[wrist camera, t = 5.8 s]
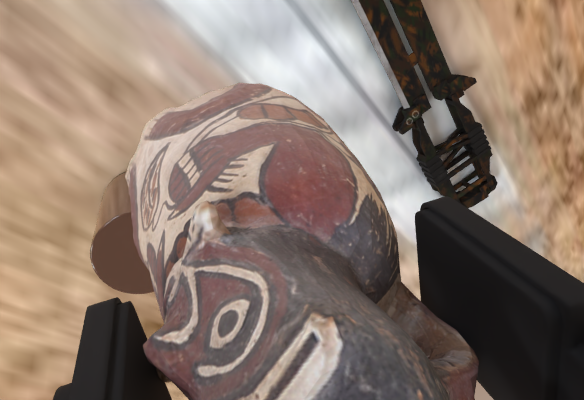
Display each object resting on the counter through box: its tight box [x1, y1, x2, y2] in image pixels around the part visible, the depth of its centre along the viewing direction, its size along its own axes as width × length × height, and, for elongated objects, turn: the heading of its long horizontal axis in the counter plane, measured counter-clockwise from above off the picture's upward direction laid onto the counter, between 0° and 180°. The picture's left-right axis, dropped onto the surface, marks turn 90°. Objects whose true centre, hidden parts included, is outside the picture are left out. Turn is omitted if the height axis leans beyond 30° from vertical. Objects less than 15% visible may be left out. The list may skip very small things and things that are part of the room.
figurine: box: [125, 83, 479, 400], centre depth 11 cm, size 7×7×12 cm
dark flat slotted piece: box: [351, 0, 497, 208], centre depth 32 cm, size 25×6×1 cm, turn 27°
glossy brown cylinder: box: [90, 172, 154, 294], centre depth 28 cm, size 5×5×7 cm
